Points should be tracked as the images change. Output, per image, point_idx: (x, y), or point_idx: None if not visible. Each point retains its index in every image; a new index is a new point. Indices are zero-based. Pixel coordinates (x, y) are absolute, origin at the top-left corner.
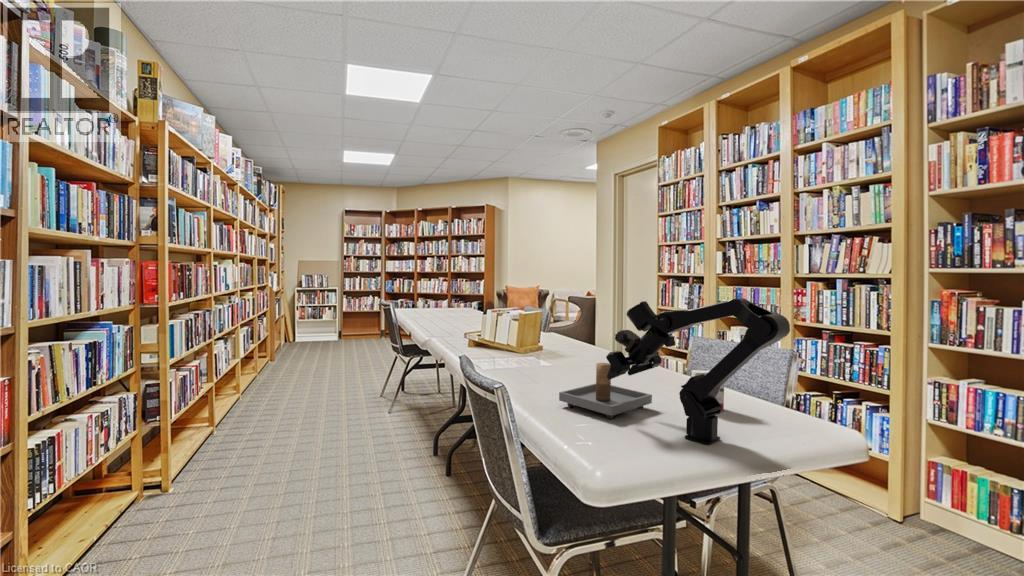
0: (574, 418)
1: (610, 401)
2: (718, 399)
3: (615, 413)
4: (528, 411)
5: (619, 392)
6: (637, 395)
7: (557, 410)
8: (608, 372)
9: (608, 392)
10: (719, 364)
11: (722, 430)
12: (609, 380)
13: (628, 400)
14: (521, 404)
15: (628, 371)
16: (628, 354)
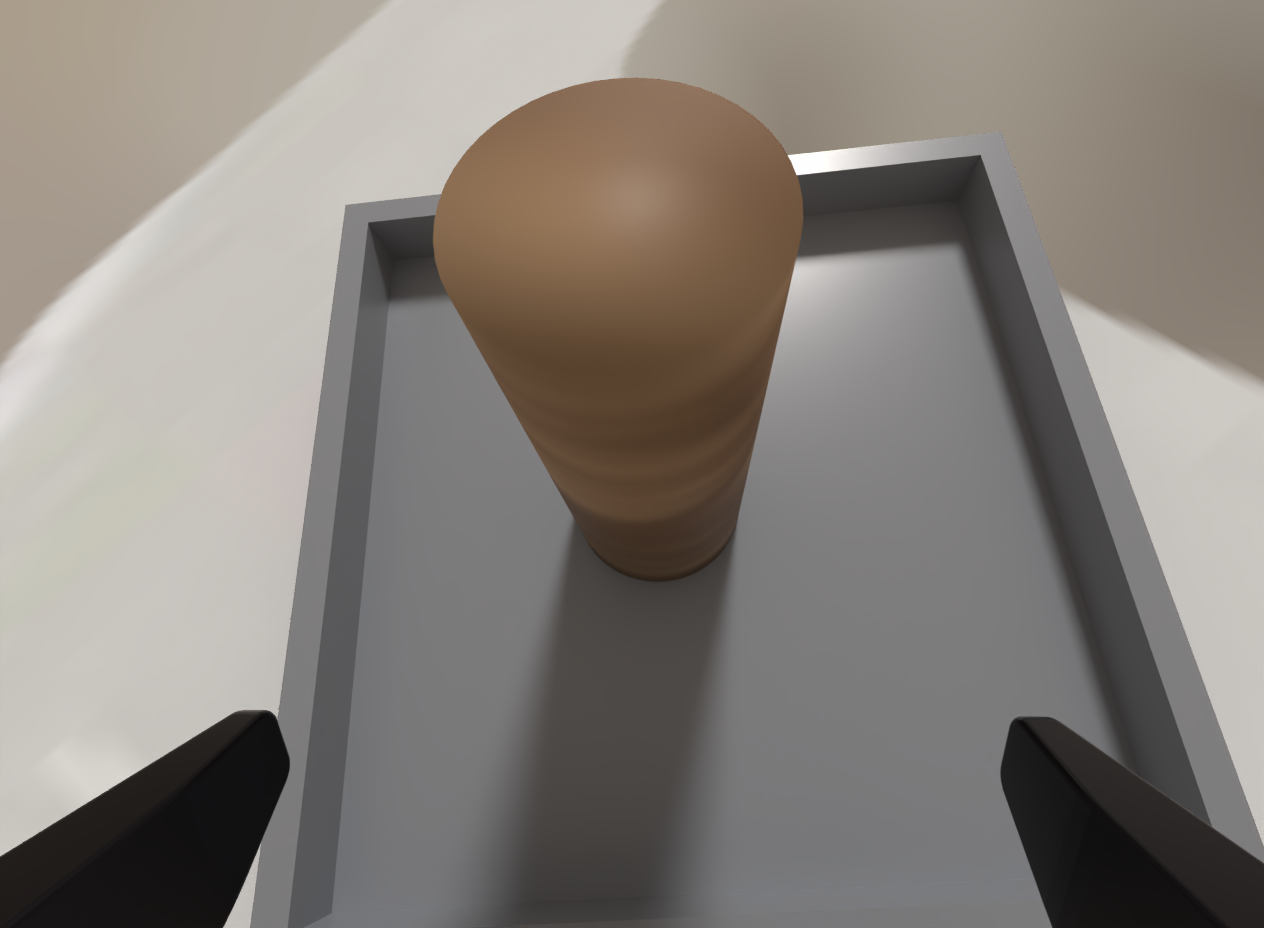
0: (214, 598)
1: (675, 596)
2: None
3: None
4: (137, 274)
5: (1031, 418)
6: (1129, 682)
7: (303, 362)
8: (61, 826)
9: (650, 555)
10: None
11: None
12: (655, 506)
13: (687, 922)
14: (244, 139)
15: (1044, 758)
16: None
